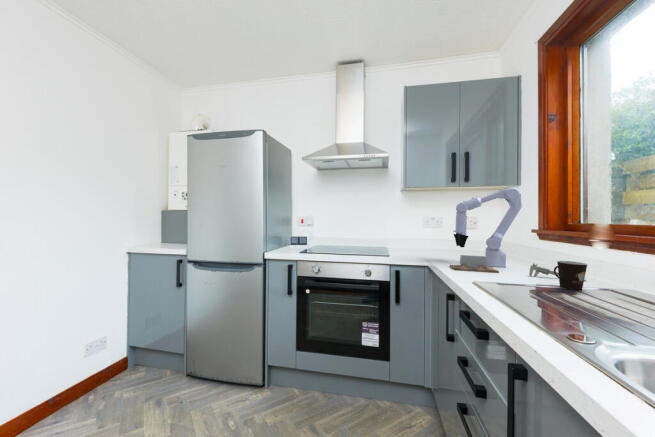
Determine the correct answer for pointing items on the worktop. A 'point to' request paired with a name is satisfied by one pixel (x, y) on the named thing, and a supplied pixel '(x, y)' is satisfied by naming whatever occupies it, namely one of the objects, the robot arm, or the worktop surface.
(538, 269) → the caliper
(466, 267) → the hinge board
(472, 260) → the door panel
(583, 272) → the coffee mug
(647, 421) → the worktop surface
